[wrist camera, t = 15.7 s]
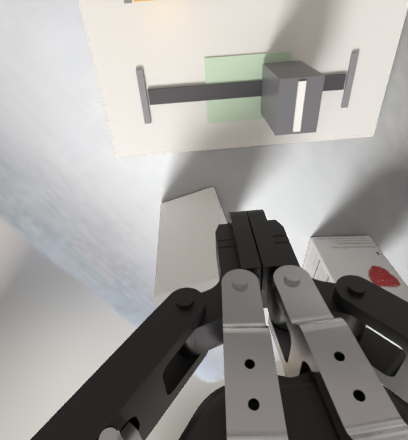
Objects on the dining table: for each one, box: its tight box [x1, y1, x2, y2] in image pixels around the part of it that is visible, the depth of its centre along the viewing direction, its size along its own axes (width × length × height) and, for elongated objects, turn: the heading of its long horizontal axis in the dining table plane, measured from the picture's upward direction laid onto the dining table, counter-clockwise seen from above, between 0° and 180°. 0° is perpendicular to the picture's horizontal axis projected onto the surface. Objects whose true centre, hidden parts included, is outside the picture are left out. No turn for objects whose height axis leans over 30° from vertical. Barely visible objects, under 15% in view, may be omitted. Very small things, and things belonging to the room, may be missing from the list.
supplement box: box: [302, 235, 408, 349], centre depth 42 cm, size 9×9×15 cm
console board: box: [78, 0, 408, 158], centre depth 29 cm, size 28×22×2 cm
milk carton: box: [154, 187, 228, 346], centre depth 34 cm, size 7×7×19 cm
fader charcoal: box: [260, 61, 325, 136], centre depth 28 cm, size 4×4×6 cm
